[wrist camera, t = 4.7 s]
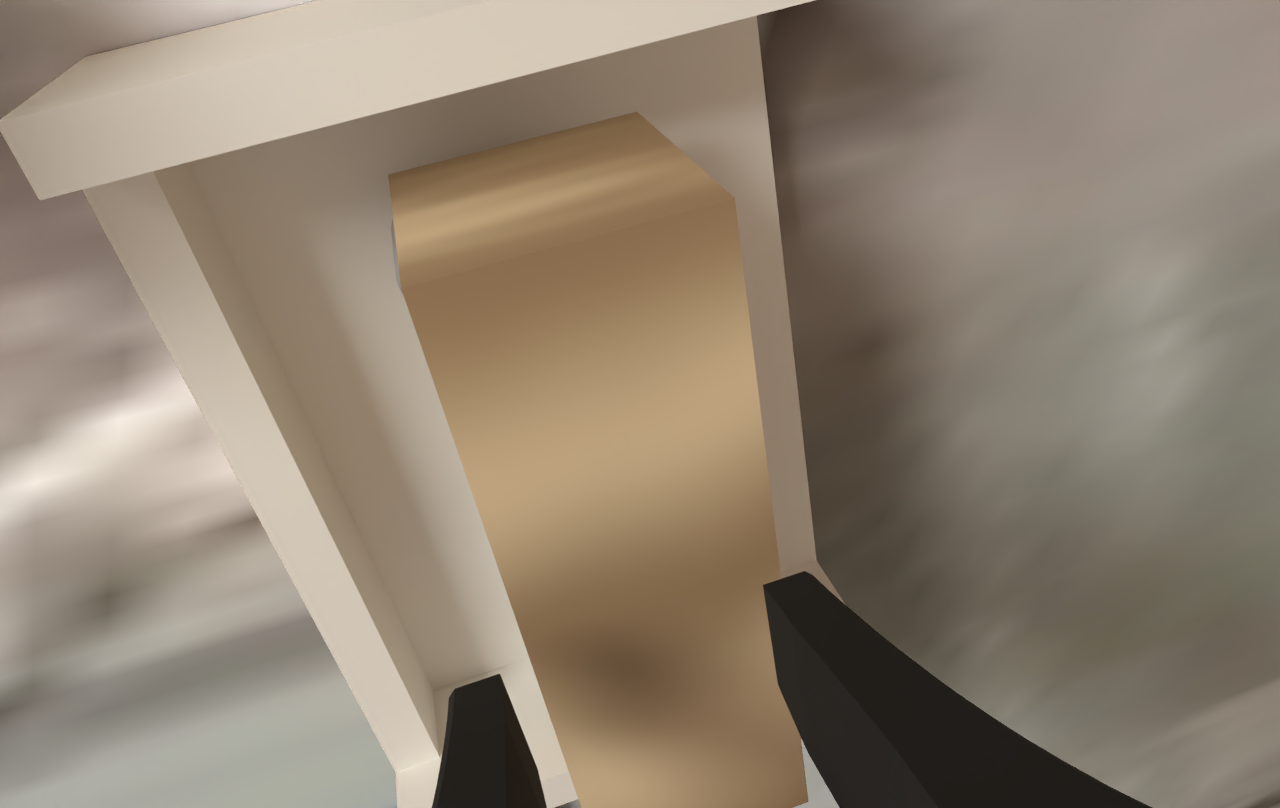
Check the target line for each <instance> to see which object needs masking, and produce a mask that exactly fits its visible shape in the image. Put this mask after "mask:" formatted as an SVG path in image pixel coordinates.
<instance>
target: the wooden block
mask: <svg viewBox="0 0 1280 808" xmlns="http://www.w3.org/2000/svg"><path fill="white" fill-rule="evenodd" d="M388 178H389V186H390V195H391V204H392V213H393V222H394V231H395V239H396V248H397V257H398V266H399V275H400V284H401V289H402V292H403V295H404V298H405V301H406V304H407V307H408V310H409V313H410V315H411V318H412V321H413V324H414V327H415V330H416V333H417V336H418V338H419V341H420V344H421V347H422V350H423V353H424V356H425V359H426V362H427V364H428V367H429V370H430V373H431V376H432V379H433V382H434V385H435V387H436V390H437V393H438V396H439V399H440V402H441V405H442V408H443V411H444V413H445V416H446V419H447V422H448V425H449V428H450V431H451V434H452V436H453V439H454V442H455V445H456V448H457V451H458V454H459V457H460V460H461V462H462V465H463V468H464V471H465V474H466V477H467V480H468V483H469V485H470V488H471V491H472V494H473V497H474V500H475V503H476V506H477V509H478V511H479V514H480V517H481V520H482V523H483V526H484V529H485V532H486V534H487V537H488V540H489V543H490V546H491V549H492V552H493V555H494V558H495V560H496V563H497V566H498V569H499V572H500V575H501V578H502V581H503V583H504V586H505V589H506V592H507V595H508V598H509V601H510V604H511V607H512V609H513V612H514V615H515V618H516V621H517V624H518V627H519V630H520V632H521V635H522V638H523V641H524V644H525V647H526V650H527V653H528V656H529V658H530V661H531V664H532V667H533V670H534V673H535V676H536V679H537V681H538V684H539V687H540V690H541V693H542V696H543V699H544V702H545V705H546V707H547V710H548V713H549V716H550V719H551V722H552V725H553V728H554V730H555V733H556V736H557V739H558V742H559V745H560V748H561V751H562V754H563V756H564V759H565V762H566V765H567V768H568V771H569V774H570V777H571V779H572V782H573V785H574V788H575V791H576V794H577V797H578V800H579V803H580V805H581V808H793V807H795V806H798V805H801V804H804V803H806V802H808V794H807V786H806V778H805V770H804V762H803V753H802V745H801V737H800V734H799V731H798V729H797V727H796V725H795V723H794V720H793V718H792V716H791V713H790V711H789V709H788V707H787V704H786V702H785V700H784V697H783V695H782V693H781V691H780V688H779V686H778V682H777V675H776V669H775V662H774V655H773V649H772V642H771V636H770V629H769V623H768V616H767V609H766V603H765V596H764V590H763V585H764V584H767V583H770V582H773V581H776V580H779V579H781V573H780V565H779V556H778V548H777V540H776V532H775V524H774V515H773V507H772V499H771V491H770V483H769V474H768V466H767V458H766V450H765V442H764V433H763V425H762V417H761V409H760V401H759V392H758V384H757V376H756V368H755V360H754V351H753V343H752V335H751V327H750V318H749V310H748V302H747V294H746V286H745V277H744V269H743V261H742V253H741V245H740V236H739V228H738V220H737V212H736V204H735V198H734V197H733V196H732V195H731V194H730V193H728V192H727V191H726V190H725V189H724V188H723V187H722V186H721V185H719V184H718V183H717V182H716V181H715V180H714V179H713V178H712V177H710V176H709V175H708V174H707V173H706V172H705V171H704V170H703V169H701V168H700V167H699V166H698V165H697V164H696V163H695V162H693V161H692V160H691V159H690V158H689V157H688V156H687V155H686V154H684V153H683V152H682V151H681V150H680V149H679V148H678V147H677V146H675V145H674V144H673V143H672V142H671V141H670V140H669V139H667V138H666V137H665V136H664V135H663V134H662V133H661V132H660V131H658V130H657V129H656V128H655V127H654V126H653V125H652V124H651V123H649V122H648V121H647V120H646V119H645V118H644V117H643V116H642V115H640V114H639V113H638V112H633V113H629V114H626V115H622V116H618V117H614V118H610V119H606V120H602V121H598V122H594V123H590V124H586V125H582V126H578V127H574V128H570V129H566V130H562V131H558V132H554V133H550V134H546V135H542V136H538V137H534V138H530V139H527V140H523V141H519V142H515V143H511V144H507V145H503V146H499V147H495V148H491V149H487V150H483V151H479V152H475V153H471V154H467V155H463V156H459V157H455V158H451V159H447V160H443V161H439V162H435V163H431V164H427V165H424V166H420V167H416V168H412V169H408V170H404V171H400V172H396V173H392V174H388Z"/></svg>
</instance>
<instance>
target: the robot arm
mask: <svg viewBox="0 0 1280 808" xmlns="http://www.w3.org/2000/svg"><path fill="white" fill-rule="evenodd" d="M763 590H764V596H765V603H766V609H767V616H768V623H769V629H770V636H771V642H772V649H773V655H774V662H775V669H776V675H777V682H778V686H779V688H780V691H781V693H782V695H783V697H784V700H785V702H786V704H787V707H788V709H789V711H790V713H791V716H792V718H793V720H794V723H795V725H796V727H797V729H798V731H799V734H800V736H801V738H802V740H803V742H804V745H805V747H806V749H807V751H808V753H809V755H810V757H811V759H812V760H813V762H814V764H815V766H816V767H817V769H818V771H819V773H820V774H821V776H822V778H823V779H824V781H825V783H826V785H827V786H828V788H829V790H830V792H831V793H832V795H833V797H834V799H835V800H836V802H837V804H838V805H839V807H840V808H1152V807H1150V806H1148V805H1146V804H1143V803H1141V802H1139V801H1137V800H1135V799H1133V798H1131V797H1129V796H1127V795H1125V794H1123V793H1121V792H1119V791H1117V790H1115V789H1113V788H1111V787H1109V786H1107V785H1106V784H1104V783H1102V782H1100V781H1098V780H1097V779H1095V778H1093V777H1091V776H1089V775H1088V774H1086V773H1084V772H1082V771H1080V770H1079V769H1077V768H1075V767H1073V766H1071V765H1070V764H1068V763H1066V762H1064V761H1062V760H1061V759H1059V758H1057V757H1056V756H1054V755H1052V754H1051V753H1049V752H1047V751H1046V750H1044V749H1042V748H1041V747H1039V746H1037V745H1036V744H1034V743H1032V742H1030V741H1029V740H1027V739H1026V738H1024V737H1022V736H1021V735H1019V734H1018V733H1016V732H1014V731H1013V730H1011V729H1010V728H1008V727H1007V726H1005V725H1004V724H1002V723H1001V722H999V721H997V720H996V719H994V718H993V717H991V716H990V715H988V714H987V713H985V712H984V711H983V710H981V709H980V708H978V707H977V706H975V705H974V704H972V703H971V702H969V701H968V700H966V699H965V698H964V697H962V696H961V695H959V694H958V693H956V692H955V691H954V690H952V689H951V688H949V687H948V686H947V685H945V684H944V683H942V682H941V681H940V680H938V679H937V678H936V677H934V676H933V675H932V674H930V673H929V672H928V671H926V670H925V669H924V668H922V667H921V666H920V665H919V664H917V663H916V662H915V661H913V660H912V659H911V658H909V657H908V656H907V655H905V654H904V653H903V652H902V651H900V650H899V649H898V648H896V647H895V646H894V645H893V644H891V643H890V642H889V641H888V640H886V639H885V638H884V637H883V636H881V635H880V634H879V633H878V632H877V631H875V630H874V629H873V628H872V627H871V626H869V625H868V624H867V623H866V622H865V621H863V620H862V619H861V618H860V617H859V616H857V615H856V614H855V613H854V612H853V611H852V610H851V609H849V608H848V607H847V606H846V605H845V604H844V603H843V602H841V601H840V600H839V599H838V598H837V597H836V596H835V595H834V594H833V593H831V592H830V591H829V590H828V589H827V588H826V587H825V586H824V585H823V584H822V583H821V582H820V581H819V580H817V579H816V578H815V577H814V576H813V575H812V574H810V573H808V572H806V571H803V572H800V573H797V574H794V575H791V576H788V577H785V578H782V579H779V580H776V581H773V582H770V583H767V584H764V585H763ZM432 808H547V806H546V802H545V797H544V793H543V789H542V785H541V781H540V777H539V772H538V769H537V766H536V763H535V761H534V758H533V756H532V753H531V751H530V748H529V746H528V743H527V741H526V738H525V736H524V733H523V731H522V728H521V725H520V723H519V720H518V718H517V715H516V713H515V710H514V708H513V705H512V703H511V700H510V698H509V695H508V693H507V690H506V688H505V685H504V682H503V680H502V677H501V675H500V674H497V675H494V676H491V677H488V678H485V679H482V680H479V681H476V682H473V683H470V684H467V685H464V686H461V687H458V688H455V689H454V691H453V692H452V693H451V695H450V696H449V702H448V715H447V724H446V732H445V739H444V746H443V752H442V758H441V764H440V769H439V775H438V780H437V786H436V791H435V795H434V800H433V804H432Z"/></svg>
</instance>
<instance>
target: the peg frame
mask: <svg viewBox="0 0 1280 808" xmlns="http://www.w3.org/2000/svg"><path fill="white" fill-rule="evenodd" d="M811 1H815V0H318V1H314V2H310V3H306V4H302V5H297V6H293V7H289V8H285V9H281V10H277V11H273V12H268V13H264V14H260V15H256V16H252V17H248V18H244V19H239V20H235V21H231V22H227V23H223V24H219V25H215V26H210V27H206V28H202V29H198V30H194V31H190V32H186V33H181V34H177V35H173V36H169V37H165V38H161V39H157V40H152V41H148V42H144V43H140V44H136V45H132V46H128V47H123V48H119V49H115V50H111V51H107V52H103V53H99V54H94V55H90V56H86V57H84V58H83V59H82V60H80V61H79V62H77V63H76V64H75V65H73V66H72V67H71V68H69V69H68V70H67V71H65V72H64V73H62V74H61V75H60V76H58V77H57V78H56V79H54V80H53V81H52V82H50V83H49V84H48V85H46V86H45V87H43V88H42V89H41V90H39V91H38V92H37V93H35V94H34V95H33V96H31V97H30V98H28V99H27V100H26V101H24V102H23V103H22V104H20V105H19V106H18V107H16V108H15V109H14V110H12V111H11V112H9V113H8V114H7V115H5V116H4V117H3V118H1V119H0V132H1V134H2V135H3V137H4V139H5V141H6V142H7V144H8V146H9V148H10V149H11V151H12V153H13V155H14V157H15V158H16V160H17V162H18V164H19V165H20V167H21V169H22V171H23V172H24V174H25V176H26V178H27V179H28V181H29V183H30V185H31V186H32V188H33V190H34V192H35V193H36V195H37V197H38V199H39V200H44V199H48V198H52V197H56V196H59V195H63V194H67V193H71V192H75V191H79V190H82V191H83V193H84V195H85V197H86V199H87V201H88V202H89V204H90V206H91V208H92V210H93V212H94V214H95V215H96V217H97V219H98V221H99V223H100V225H101V226H102V228H103V230H104V232H105V234H106V236H107V238H108V239H109V241H110V243H111V245H112V247H113V249H114V251H115V252H116V254H117V256H118V258H119V260H120V262H121V264H122V265H123V267H124V269H125V271H126V273H127V275H128V277H129V278H130V280H131V282H132V284H133V286H134V288H135V290H136V291H137V293H138V295H139V297H140V299H141V301H142V303H143V304H144V306H145V308H146V310H147V312H148V314H149V316H150V317H151V319H152V321H153V323H154V325H155V327H156V329H157V330H158V332H159V334H160V336H161V338H162V340H163V342H164V343H165V345H166V347H167V349H168V351H169V353H170V355H171V356H172V358H173V360H174V362H175V364H176V366H177V368H178V369H179V371H180V373H181V375H182V377H183V379H184V381H185V382H186V384H187V386H188V388H189V390H190V392H191V394H192V395H193V397H194V399H195V401H196V403H197V405H198V407H199V408H200V410H201V412H202V414H203V416H204V418H205V419H206V421H207V423H208V425H209V427H210V429H211V431H212V432H213V434H214V436H215V438H216V440H217V442H218V444H219V445H220V447H221V449H222V451H223V453H224V455H225V457H226V458H227V460H228V462H229V464H230V466H231V468H232V470H233V471H234V473H235V475H236V477H237V479H238V481H239V483H240V484H241V486H242V488H243V490H244V492H245V494H246V496H247V497H248V499H249V501H250V503H251V505H252V507H253V509H254V510H255V512H256V514H257V516H258V518H259V520H260V522H261V523H262V525H263V527H264V529H265V531H266V533H267V535H268V536H269V538H270V540H271V542H272V544H273V546H274V548H275V549H276V551H277V553H278V555H279V557H280V559H281V561H282V562H283V564H284V566H285V568H286V570H287V572H288V574H289V575H290V577H291V579H292V581H293V583H294V585H295V587H296V588H297V590H298V592H299V594H300V596H301V598H302V600H303V601H304V603H305V605H306V607H307V609H308V611H309V612H310V614H311V616H312V618H313V620H314V622H315V624H316V625H317V627H318V629H319V631H320V633H321V635H322V637H323V638H324V640H325V642H326V644H327V646H328V648H329V650H330V651H331V653H332V655H333V657H334V659H335V661H336V663H337V664H338V666H339V668H340V670H341V672H342V674H343V676H344V677H345V679H346V681H347V683H348V685H349V687H350V689H351V690H352V692H353V694H354V696H355V698H356V700H357V702H358V703H359V705H360V707H361V709H362V711H363V713H364V715H365V716H366V718H367V720H368V722H369V724H370V726H371V728H372V729H373V731H374V733H375V735H376V737H377V739H378V741H379V742H380V744H381V746H382V748H383V750H384V752H385V754H386V755H387V757H388V759H389V761H390V763H391V765H392V767H393V768H394V770H395V772H396V790H397V808H432V804H433V800H434V795H435V791H436V786H437V780H438V775H439V769H440V764H441V758H442V752H443V746H444V739H445V732H446V724H447V715H448V702H449V696H450V695H451V693H452V692H453V691H454V689H455V688H458V687H461V686H464V685H467V684H470V683H473V682H476V681H479V680H482V679H485V678H488V677H491V676H494V675H497V674H500V675H501V677H502V680H503V682H504V685H505V688H506V690H507V693H508V695H509V698H510V700H511V703H512V705H513V708H514V710H515V713H516V715H517V718H518V720H519V723H520V725H521V728H522V731H523V733H524V736H525V738H526V741H527V743H528V746H529V748H530V751H531V753H532V756H533V758H534V761H535V763H536V766H537V769H538V772H539V777H540V781H541V785H542V789H543V793H544V797H545V802H546V806H547V808H555V807H557V806H560V805H563V804H566V803H569V802H571V801H574V800H577V799H578V797H577V794H576V791H575V788H574V785H573V782H572V779H571V777H570V774H569V771H568V768H567V765H566V762H565V759H564V756H563V754H562V751H561V748H560V745H559V742H558V739H557V736H556V733H555V730H554V728H553V725H552V722H551V719H550V716H549V713H548V710H547V707H546V705H545V702H544V699H543V696H542V693H541V690H540V687H539V684H538V681H537V679H536V676H535V673H534V670H533V667H532V664H531V661H530V658H529V656H528V653H527V650H526V647H525V644H524V641H523V638H522V635H521V632H520V630H519V627H518V624H517V621H516V618H515V615H514V612H513V609H512V607H511V604H510V601H509V598H508V595H507V592H506V589H505V586H504V583H503V581H502V578H501V575H500V572H499V569H498V566H497V563H496V560H495V558H494V555H493V552H492V549H491V546H490V543H489V540H488V537H487V534H486V532H485V529H484V526H483V523H482V520H481V517H480V514H479V511H478V509H477V506H476V503H475V500H474V497H473V494H472V491H471V488H470V485H469V483H468V480H467V477H466V474H465V471H464V468H463V465H462V462H461V460H460V457H459V454H458V451H457V448H456V445H455V442H454V439H453V436H452V434H451V431H450V428H449V425H448V422H447V419H446V416H445V413H444V411H443V408H442V405H441V402H440V399H439V396H438V393H437V390H436V387H435V385H434V382H433V379H432V376H431V373H430V370H429V367H428V364H427V362H426V359H425V356H424V353H423V350H422V347H421V344H420V341H419V338H418V336H417V333H416V330H415V327H414V324H413V321H412V318H411V315H410V313H409V310H408V307H407V304H406V301H405V298H404V295H403V292H402V289H401V284H400V275H399V266H398V257H397V248H396V239H395V231H394V222H393V213H392V204H391V195H390V186H389V178H388V174H392V173H396V172H400V171H404V170H408V169H412V168H416V167H420V166H424V165H427V164H431V163H435V162H439V161H443V160H447V159H451V158H455V157H459V156H463V155H467V154H471V153H475V152H479V151H483V150H487V149H491V148H495V147H499V146H503V145H507V144H511V143H515V142H519V141H523V140H527V139H530V138H534V137H538V136H542V135H546V134H550V133H554V132H558V131H562V130H566V129H570V128H574V127H578V126H582V125H586V124H590V123H594V122H598V121H602V120H606V119H610V118H614V117H618V116H622V115H626V114H629V113H633V112H638V113H639V114H640V115H642V116H643V117H644V118H645V119H646V120H647V121H648V122H649V123H651V124H652V125H653V126H654V127H655V128H656V129H657V130H658V131H660V132H661V133H662V134H663V135H664V136H665V137H666V138H667V139H669V140H670V141H671V142H672V143H673V144H674V145H675V146H677V147H678V148H679V149H680V150H681V151H682V152H683V153H684V154H686V155H687V156H688V157H689V158H690V159H691V160H692V161H693V162H695V163H696V164H697V165H698V166H699V167H700V168H701V169H703V170H704V171H705V172H706V173H707V174H708V175H709V176H710V177H712V178H713V179H714V180H715V181H716V182H717V183H718V184H719V185H721V186H722V187H723V188H724V189H725V190H726V191H727V192H728V193H730V194H731V195H732V196H733V197H734V198H735V204H736V212H737V220H738V228H739V236H740V245H741V253H742V261H743V269H744V277H745V286H746V294H747V302H748V310H749V318H750V327H751V335H752V343H753V351H754V360H755V368H756V376H757V384H758V392H759V401H760V409H761V417H762V425H763V433H764V442H765V450H766V458H767V466H768V474H769V483H770V491H771V499H772V507H773V515H774V524H775V532H776V540H777V548H778V556H779V565H780V573H781V579H782V578H785V577H788V576H791V575H794V574H797V573H800V572H803V571H806V572H808V573H810V574H812V575H813V576H814V577H815V578H816V579H817V580H819V581H820V582H821V583H822V584H823V585H824V586H825V587H826V588H827V589H828V590H829V591H830V592H831V593H833V594H834V595H835V596H836V597H837V598H838V599H839V600H840V601H841V602H843V603H844V601H843V600H842V598H841V597H840V595H839V594H838V592H837V591H836V589H835V588H834V586H833V585H832V583H831V582H830V580H829V579H828V577H827V576H826V574H825V573H824V571H823V570H822V568H821V567H820V565H819V564H818V562H817V560H816V551H815V542H814V533H813V523H812V514H811V505H810V496H809V487H808V478H807V469H806V460H805V451H804V442H803V433H802V424H801V415H800V405H799V396H798V387H797V378H796V369H795V360H794V351H793V342H792V333H791V324H790V315H789V306H788V296H787V287H786V278H785V269H784V260H783V251H782V242H781V233H780V224H779V215H778V206H777V197H776V187H775V178H774V169H773V160H772V151H771V142H770V133H769V124H768V115H767V106H766V97H765V88H764V78H763V69H762V60H761V51H760V42H759V33H758V24H757V15H760V14H764V13H768V12H772V11H776V10H780V9H784V8H787V7H791V6H795V5H799V4H803V3H807V2H811ZM844 604H845V603H844Z"/></svg>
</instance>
